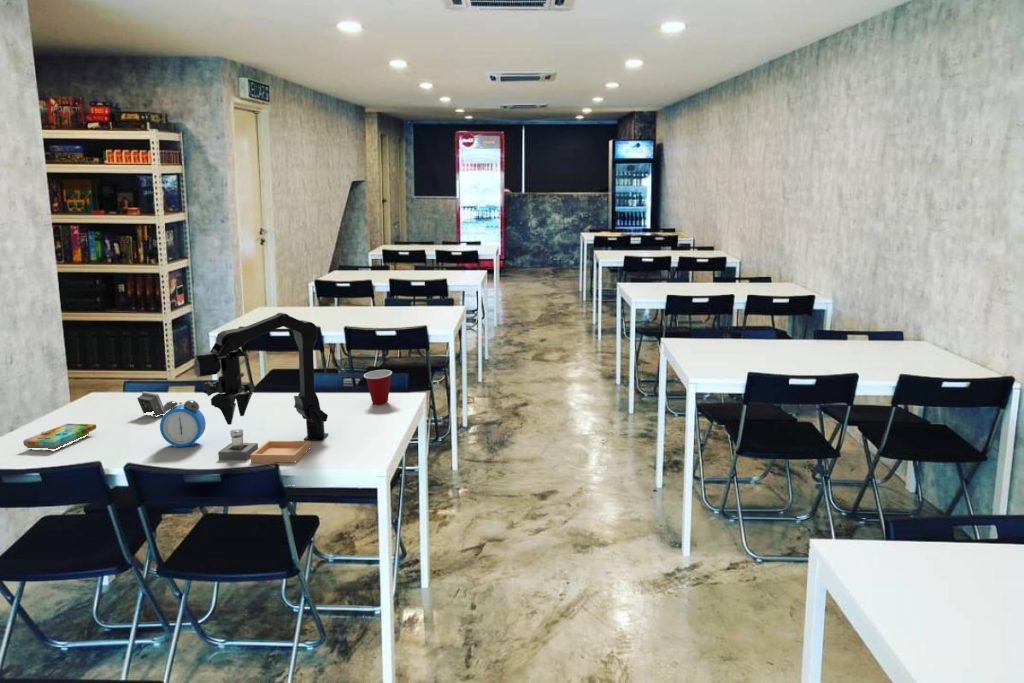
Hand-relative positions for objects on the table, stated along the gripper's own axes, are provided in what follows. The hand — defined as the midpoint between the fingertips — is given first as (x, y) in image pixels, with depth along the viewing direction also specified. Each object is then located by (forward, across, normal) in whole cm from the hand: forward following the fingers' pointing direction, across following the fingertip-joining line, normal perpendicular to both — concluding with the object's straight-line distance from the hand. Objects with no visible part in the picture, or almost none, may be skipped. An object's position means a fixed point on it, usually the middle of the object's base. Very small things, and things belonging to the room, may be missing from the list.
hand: (235, 420), depth 260 cm
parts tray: (+12, 0, +14) cm, 18 cm away
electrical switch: (+12, -44, -53) cm, 70 cm away
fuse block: (+11, 0, 0) cm, 11 cm away
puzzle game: (+12, -12, -68) cm, 70 cm away
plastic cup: (+12, -62, +29) cm, 69 cm away
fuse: (+11, 0, 0) cm, 11 cm away
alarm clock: (+12, -10, -23) cm, 28 cm away
